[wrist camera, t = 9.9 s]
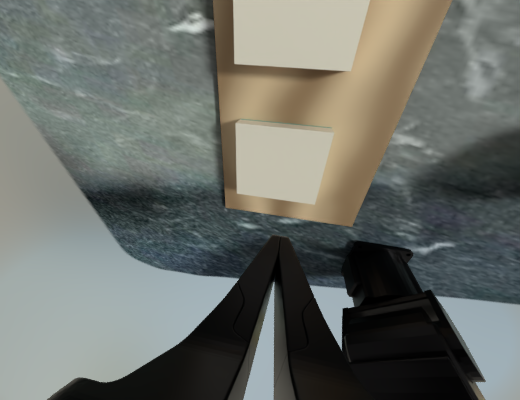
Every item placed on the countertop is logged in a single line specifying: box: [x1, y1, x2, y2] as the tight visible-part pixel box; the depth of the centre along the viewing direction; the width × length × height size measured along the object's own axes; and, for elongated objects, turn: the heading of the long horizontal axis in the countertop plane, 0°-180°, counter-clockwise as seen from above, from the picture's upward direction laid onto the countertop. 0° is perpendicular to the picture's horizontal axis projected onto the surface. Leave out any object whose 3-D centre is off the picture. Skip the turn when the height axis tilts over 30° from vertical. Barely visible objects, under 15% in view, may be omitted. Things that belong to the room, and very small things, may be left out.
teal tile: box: [236, 119, 334, 205], centre depth 18 cm, size 2×7×8 cm
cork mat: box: [213, 0, 452, 227], centre depth 16 cm, size 15×25×1 cm, turn 177°
